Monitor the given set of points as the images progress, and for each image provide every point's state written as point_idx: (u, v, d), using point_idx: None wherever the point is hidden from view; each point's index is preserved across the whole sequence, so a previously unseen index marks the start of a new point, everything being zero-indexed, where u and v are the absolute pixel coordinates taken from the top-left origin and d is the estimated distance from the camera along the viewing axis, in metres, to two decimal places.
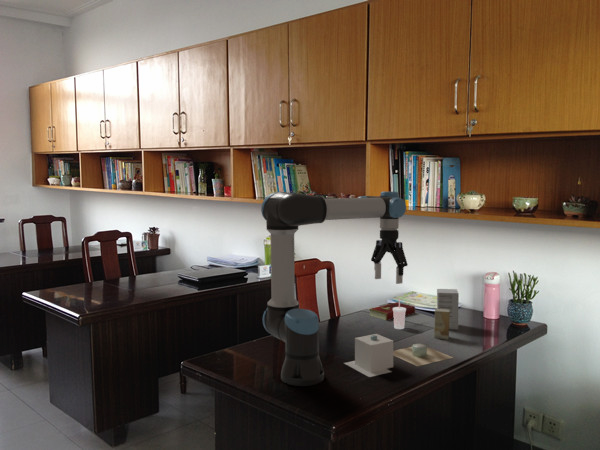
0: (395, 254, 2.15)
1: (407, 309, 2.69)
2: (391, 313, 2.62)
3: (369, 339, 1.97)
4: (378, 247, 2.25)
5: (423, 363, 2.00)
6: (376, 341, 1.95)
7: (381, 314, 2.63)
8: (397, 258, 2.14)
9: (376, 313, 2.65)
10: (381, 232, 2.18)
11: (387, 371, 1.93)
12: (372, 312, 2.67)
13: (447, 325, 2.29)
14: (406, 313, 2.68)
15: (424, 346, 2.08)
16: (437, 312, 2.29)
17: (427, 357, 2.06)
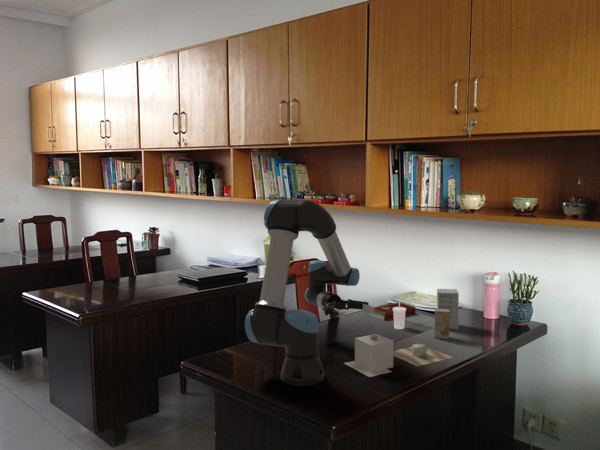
0: None
1: (407, 309, 2.68)
2: (389, 313, 2.62)
3: (369, 339, 1.97)
4: (326, 306, 2.14)
5: (423, 363, 2.00)
6: (376, 341, 1.95)
7: (379, 314, 2.63)
8: None
9: (375, 313, 2.66)
10: (330, 293, 2.22)
11: (387, 371, 1.93)
12: None
13: (447, 325, 2.29)
14: (406, 313, 2.68)
15: (424, 346, 2.08)
16: (437, 312, 2.29)
17: (427, 357, 2.06)
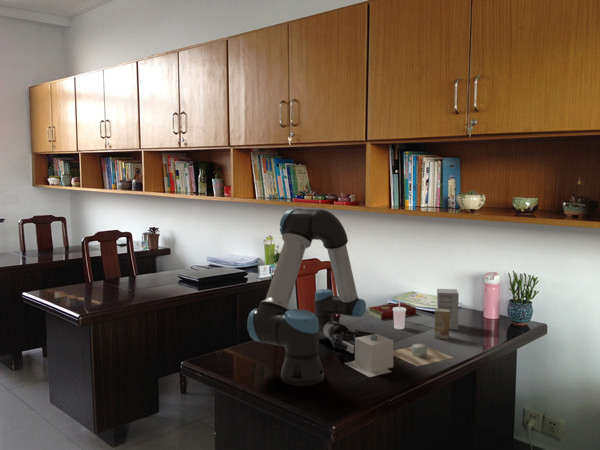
0: None
1: (407, 310, 2.67)
2: (387, 313, 2.62)
3: (369, 339, 1.97)
4: (334, 338, 2.11)
5: (423, 363, 2.00)
6: (376, 341, 1.95)
7: (377, 313, 2.64)
8: None
9: (374, 312, 2.67)
10: (337, 324, 2.19)
11: (387, 371, 1.93)
12: (371, 311, 2.69)
13: (447, 325, 2.29)
14: (405, 314, 2.67)
15: (424, 346, 2.08)
16: (437, 312, 2.29)
17: (427, 357, 2.06)
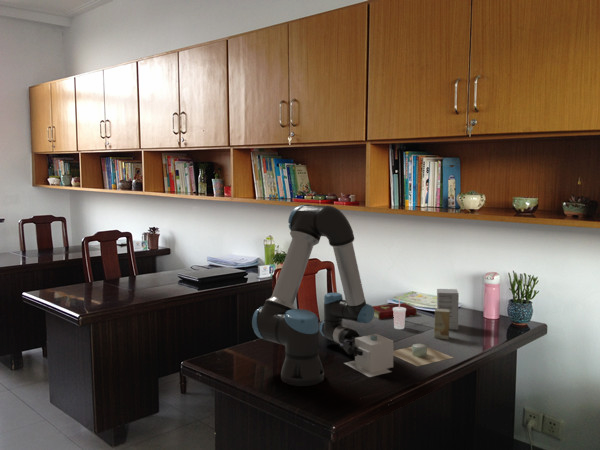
0: None
1: (406, 310, 2.67)
2: (385, 312, 2.63)
3: (369, 339, 1.97)
4: None
5: (423, 363, 2.00)
6: (376, 341, 1.95)
7: (376, 313, 2.65)
8: None
9: None
10: (347, 328, 2.12)
11: (387, 371, 1.93)
12: None
13: (447, 325, 2.29)
14: None
15: (424, 346, 2.08)
16: (437, 312, 2.29)
17: (427, 357, 2.06)
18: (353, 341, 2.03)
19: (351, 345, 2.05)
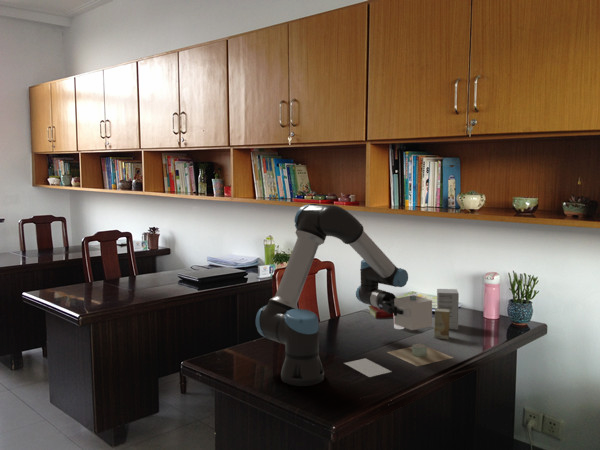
0: None
1: None
2: (382, 312, 2.64)
3: (408, 299, 2.06)
4: None
5: (423, 363, 2.00)
6: (416, 301, 2.04)
7: (374, 312, 2.67)
8: None
9: (372, 310, 2.70)
10: (384, 292, 2.20)
11: (387, 371, 1.93)
12: (370, 310, 2.73)
13: (447, 325, 2.29)
14: None
15: (424, 346, 2.08)
16: (437, 312, 2.29)
17: (427, 357, 2.06)
18: (392, 302, 2.12)
19: (390, 306, 2.14)
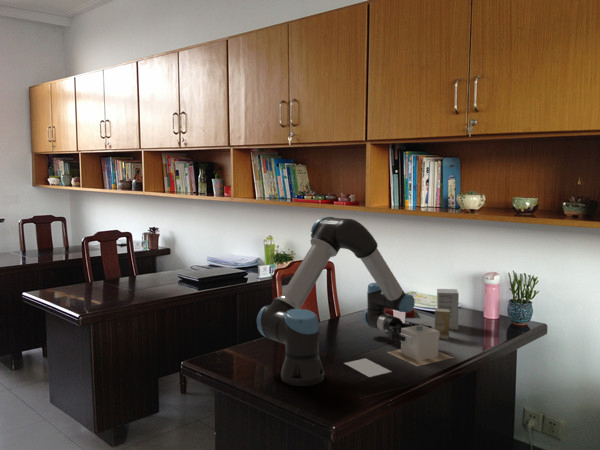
0: None
1: None
2: None
3: (415, 329, 2.08)
4: None
5: (423, 363, 2.00)
6: (422, 331, 2.06)
7: None
8: None
9: None
10: (391, 316, 2.22)
11: (387, 371, 1.93)
12: None
13: (447, 325, 2.29)
14: None
15: None
16: (437, 312, 2.29)
17: None
18: (397, 328, 2.14)
19: (395, 332, 2.16)
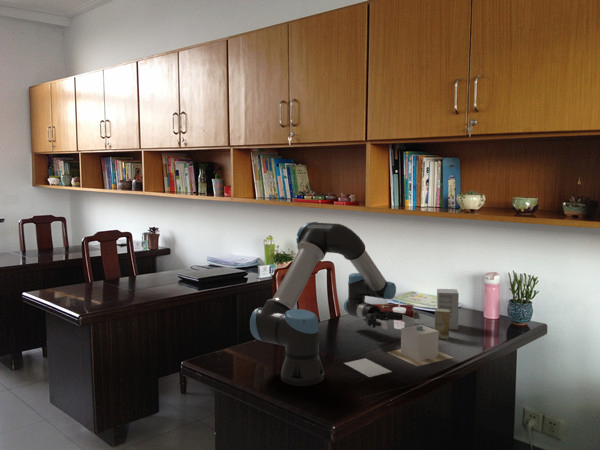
0: None
1: None
2: None
3: (415, 329, 2.08)
4: None
5: (423, 363, 2.00)
6: (422, 331, 2.06)
7: None
8: None
9: None
10: (370, 305, 2.34)
11: (387, 371, 1.93)
12: None
13: (447, 325, 2.29)
14: None
15: None
16: (437, 312, 2.29)
17: None
18: (374, 315, 2.25)
19: None
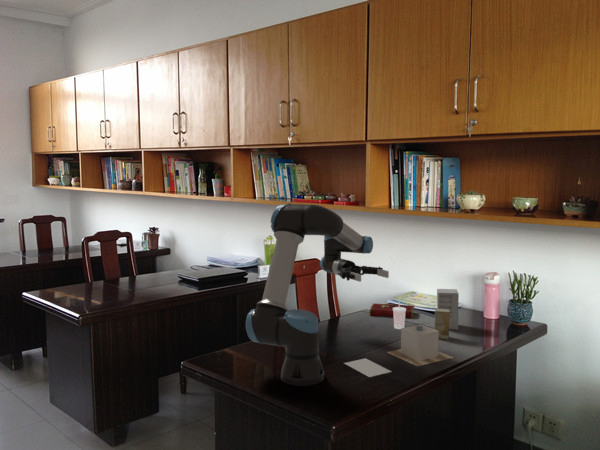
0: None
1: None
2: (377, 310, 2.67)
3: (415, 329, 2.08)
4: None
5: (423, 363, 2.00)
6: (422, 331, 2.06)
7: None
8: None
9: None
10: (345, 260, 2.32)
11: (387, 371, 1.93)
12: None
13: (447, 325, 2.29)
14: None
15: None
16: (437, 312, 2.29)
17: None
18: (349, 269, 2.24)
19: None
